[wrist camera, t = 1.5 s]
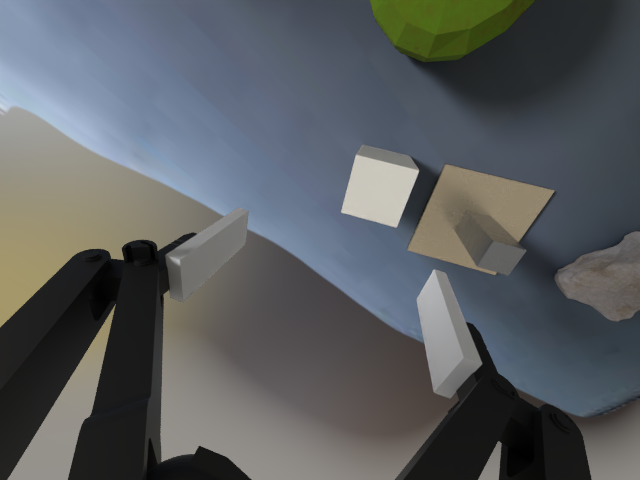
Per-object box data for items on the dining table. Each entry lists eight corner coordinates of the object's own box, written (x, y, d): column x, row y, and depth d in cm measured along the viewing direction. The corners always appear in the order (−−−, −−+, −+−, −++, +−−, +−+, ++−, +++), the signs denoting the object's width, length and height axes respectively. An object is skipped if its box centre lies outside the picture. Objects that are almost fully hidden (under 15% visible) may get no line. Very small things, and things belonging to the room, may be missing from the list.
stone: (537, 278, 32) (566, 308, 27) (602, 214, 28) (652, 235, 22) (596, 301, 32) (636, 336, 27) (672, 240, 27) (739, 269, 22)
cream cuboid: (362, 144, 30) (356, 154, 22) (409, 155, 29) (419, 170, 22) (350, 189, 32) (341, 212, 25) (393, 200, 32) (396, 227, 24)
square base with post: (444, 163, 29) (468, 182, 21) (551, 189, 27) (619, 219, 20) (406, 248, 34) (414, 287, 27) (493, 272, 33) (527, 321, 25)
